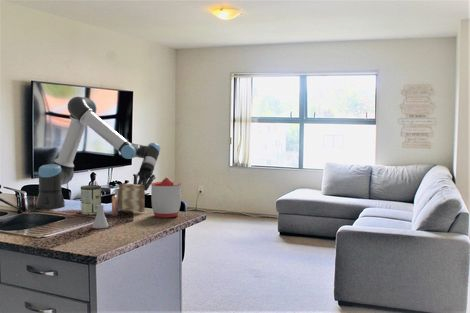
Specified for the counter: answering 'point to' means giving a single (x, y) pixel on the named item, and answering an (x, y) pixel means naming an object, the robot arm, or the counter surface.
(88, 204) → the coffee can
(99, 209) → the flask
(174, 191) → the citrus juicer
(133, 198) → the brown beige flat square
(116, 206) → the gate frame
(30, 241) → the counter surface
